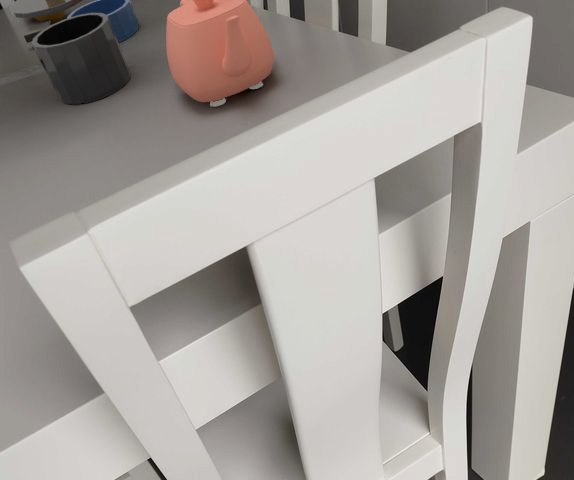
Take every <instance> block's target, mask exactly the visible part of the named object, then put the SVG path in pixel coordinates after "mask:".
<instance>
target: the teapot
mask: <svg viewBox="0 0 574 480" xmlns="http://www.w3.org/2000/svg"><path fill="white" fill-rule="evenodd" d="M165 31H166V32H165V33H166V35H165V36H166V37H165V39H166V41H165V43H166V44H165V45H166V46H165V47H166V57H167V62H168V67H169V71H170V73H171V76H172V78H173V80H174V82H175V84H176V85H177V86H178V87H179V88H180V89H181V90H182V91H183V92H184V93H185V94H186V95H187V96H189V97H190V98H191V99H193V100H194V101H197V102H199V103H209V102H210V101H213V102H215V101H219V100H222V99H223V98H225V97H226V98H227V97H230V96H232V95H236V94H238V93H241V92H243V91H246V90H248V88H249V87H251V86H253V85H256V84H258V83H259V82H260V81H264V80H265V79H266V78H267V77H269V76H270V75H271V72H272V70H273V66H274V62H275V52H274V49H273V45H272V42H271V40H270V39H271V38H270V37H269V35H268V32H267V30H266V27H265V26H264V25H263V23H262V21H261V19H260V18H259V16H258V14H257V13H256V12H255V10H254V8H253V7H252V6H251V4H250V3H249V2H248V0H180V2H179V6H178V7H177V8H175V9H173V10H171V11H170V12H169V13H168V14H167V17H166V30H165Z"/></svg>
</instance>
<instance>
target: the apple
mask: <svg viewBox="0 0 574 480" xmlns="http://www.w3.org/2000/svg"><path fill="white" fill-rule="evenodd" d="M64 14H65V10H63V11H61V12H58V13H54V14H51V15H46V16H40V17H33V18H34V19H35V20H37V21H39V22H40V21H41V22H43V21H48V20H50V22H49V25H53V24H55V23H58V22H60V21H62V20H63V17H64Z"/></svg>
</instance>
